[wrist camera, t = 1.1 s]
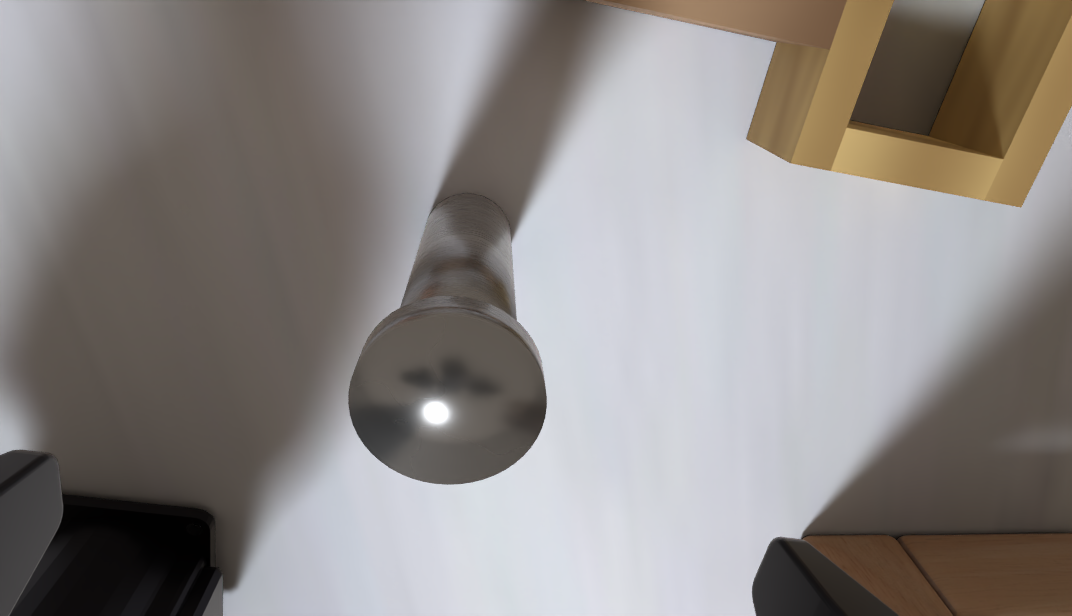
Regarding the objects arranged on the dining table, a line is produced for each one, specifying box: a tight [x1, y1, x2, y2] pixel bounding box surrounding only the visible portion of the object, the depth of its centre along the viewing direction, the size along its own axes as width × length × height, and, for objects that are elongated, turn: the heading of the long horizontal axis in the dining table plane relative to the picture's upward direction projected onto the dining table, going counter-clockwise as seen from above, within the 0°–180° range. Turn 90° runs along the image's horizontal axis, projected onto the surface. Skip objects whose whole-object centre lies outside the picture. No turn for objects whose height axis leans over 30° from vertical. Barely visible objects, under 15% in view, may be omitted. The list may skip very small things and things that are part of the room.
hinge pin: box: [348, 194, 547, 484], centre depth 15 cm, size 3×3×9 cm
